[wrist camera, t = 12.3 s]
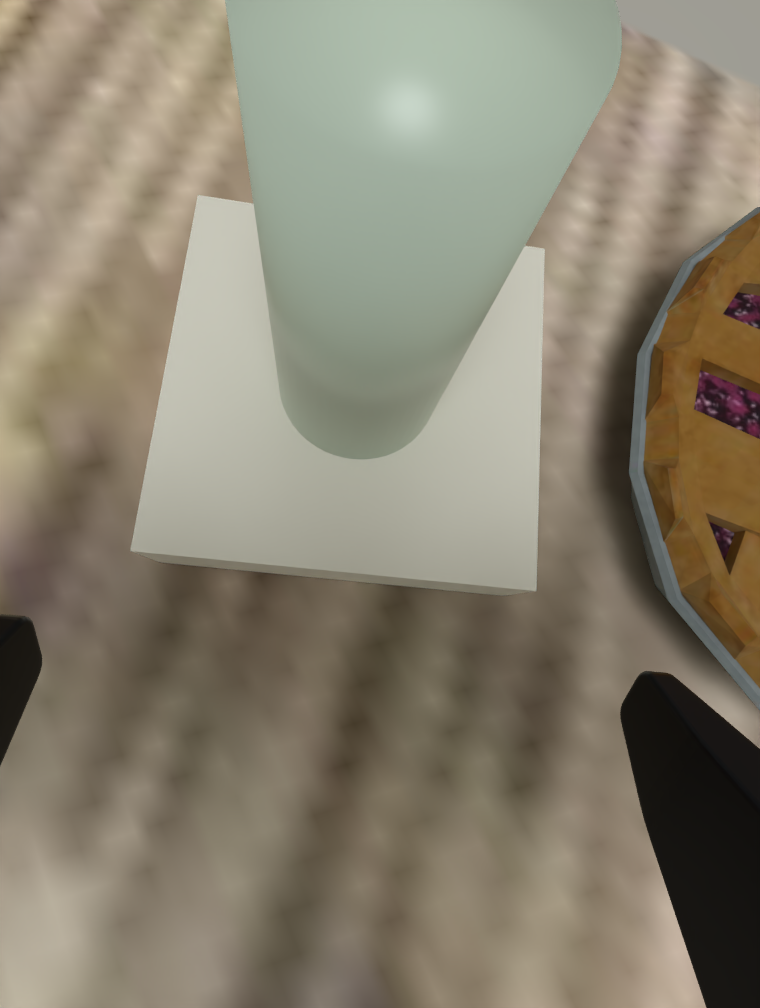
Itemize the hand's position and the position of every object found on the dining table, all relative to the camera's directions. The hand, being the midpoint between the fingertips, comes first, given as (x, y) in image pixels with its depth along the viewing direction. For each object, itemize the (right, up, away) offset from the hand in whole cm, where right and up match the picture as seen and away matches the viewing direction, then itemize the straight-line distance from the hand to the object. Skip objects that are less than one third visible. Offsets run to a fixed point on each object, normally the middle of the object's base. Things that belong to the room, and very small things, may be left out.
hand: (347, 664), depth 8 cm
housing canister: (0, +6, +9) cm, 11 cm away
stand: (0, +6, +12) cm, 13 cm away
